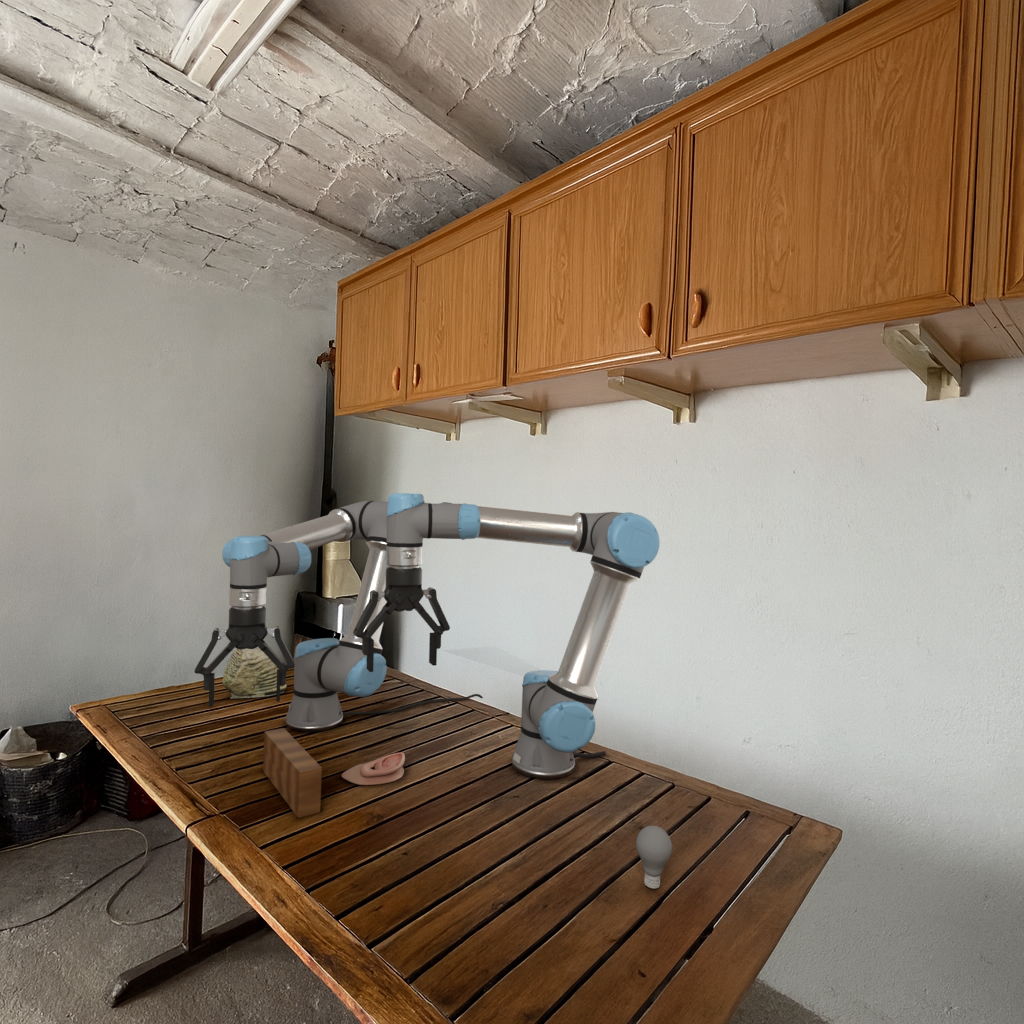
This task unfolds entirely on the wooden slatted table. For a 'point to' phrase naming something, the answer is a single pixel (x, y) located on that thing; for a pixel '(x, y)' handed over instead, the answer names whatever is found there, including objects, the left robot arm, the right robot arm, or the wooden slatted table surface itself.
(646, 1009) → the wooden slatted table surface
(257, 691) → the fossil
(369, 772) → the anatomical model
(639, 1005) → the wooden slatted table surface
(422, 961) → the wooden slatted table surface
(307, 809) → the bar
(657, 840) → the light bulb
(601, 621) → the right robot arm
